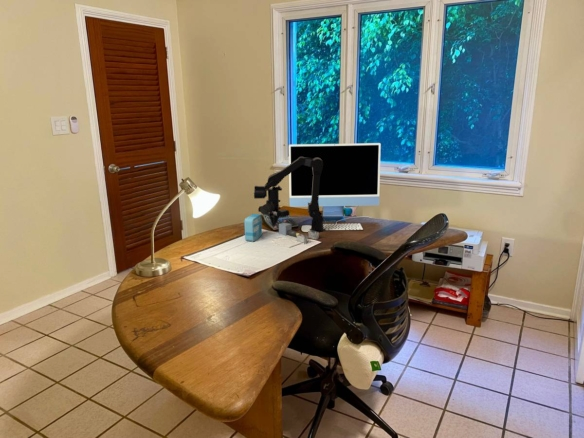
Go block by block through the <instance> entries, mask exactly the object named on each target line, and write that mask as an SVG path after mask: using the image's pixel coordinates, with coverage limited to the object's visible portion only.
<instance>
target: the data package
mask: <svg viewBox="0 0 584 438" xmlns="http://www.w3.org/2000/svg"><path fill="white" fill-rule="evenodd" d="M262 226H263V225H262V214H261V213H258V214H257V213H252V214H250V215H249V216H247V217H245V218H244V239H245V242H256V241H257V240H258V239H259V238H261V236H262V234H263V232H262V228H263V227H262Z"/></svg>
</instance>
